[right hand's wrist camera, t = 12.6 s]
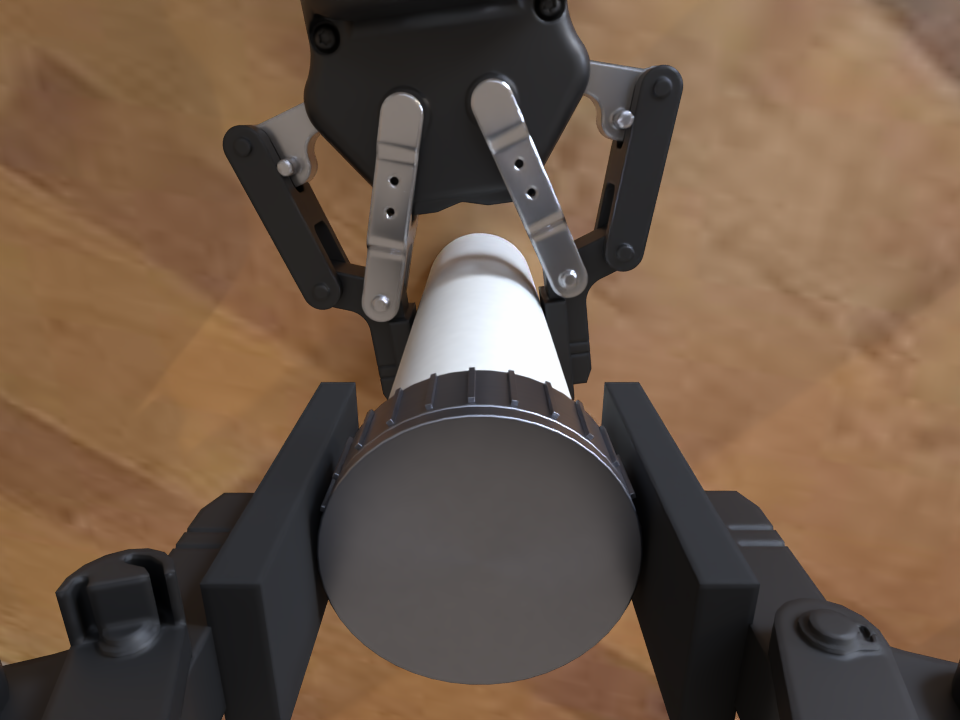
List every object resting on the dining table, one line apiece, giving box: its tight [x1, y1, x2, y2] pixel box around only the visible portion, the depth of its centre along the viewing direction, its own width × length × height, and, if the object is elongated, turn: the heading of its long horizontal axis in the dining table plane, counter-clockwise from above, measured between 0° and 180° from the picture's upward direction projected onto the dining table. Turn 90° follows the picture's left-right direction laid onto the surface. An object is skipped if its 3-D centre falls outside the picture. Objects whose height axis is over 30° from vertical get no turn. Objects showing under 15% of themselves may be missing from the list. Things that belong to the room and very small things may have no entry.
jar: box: [389, 233, 571, 399], centre depth 19 cm, size 4×4×18 cm
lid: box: [317, 367, 643, 684], centre depth 11 cm, size 6×6×2 cm
